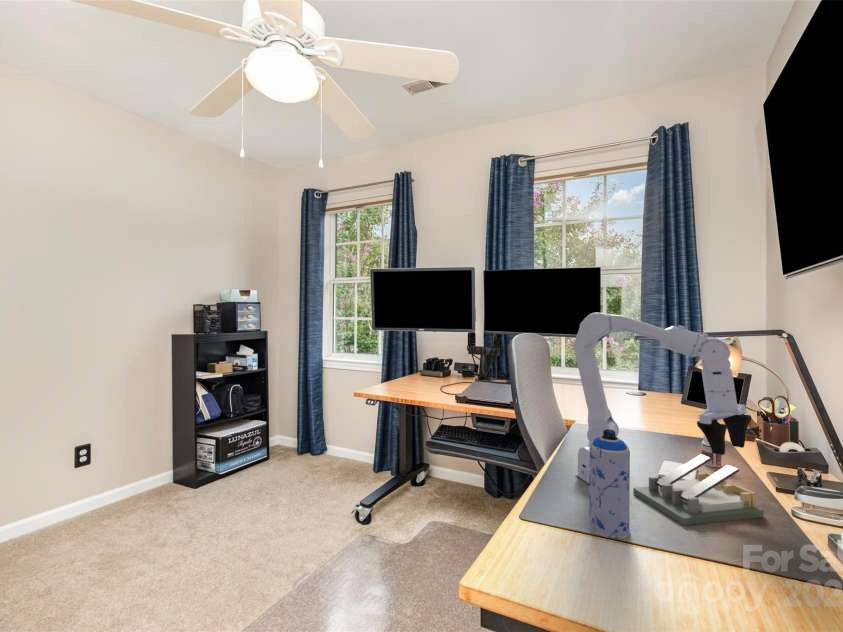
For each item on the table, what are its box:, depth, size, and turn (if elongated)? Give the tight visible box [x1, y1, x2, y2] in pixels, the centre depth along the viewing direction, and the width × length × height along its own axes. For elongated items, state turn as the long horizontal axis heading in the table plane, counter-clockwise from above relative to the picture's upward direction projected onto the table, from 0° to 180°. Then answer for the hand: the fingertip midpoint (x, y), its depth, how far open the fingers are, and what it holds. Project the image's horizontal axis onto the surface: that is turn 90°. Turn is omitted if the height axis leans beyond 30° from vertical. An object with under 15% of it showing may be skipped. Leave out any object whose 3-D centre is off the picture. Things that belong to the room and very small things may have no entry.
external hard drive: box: [657, 460, 698, 481], centre depth 112 cm, size 2×8×12 cm
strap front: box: [679, 464, 740, 501], centre depth 90 cm, size 14×3×1 cm, turn 100°
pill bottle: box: [701, 434, 722, 468], centre depth 119 cm, size 5×5×8 cm
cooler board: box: [632, 471, 765, 527], centre depth 94 cm, size 20×15×4 cm
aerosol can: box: [587, 429, 631, 540], centre depth 83 cm, size 8×8×20 cm
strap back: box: [656, 453, 711, 487], centre depth 97 cm, size 14×3×1 cm, turn 100°
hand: (728, 450), depth 93 cm, fingers open, 7 cm apart
